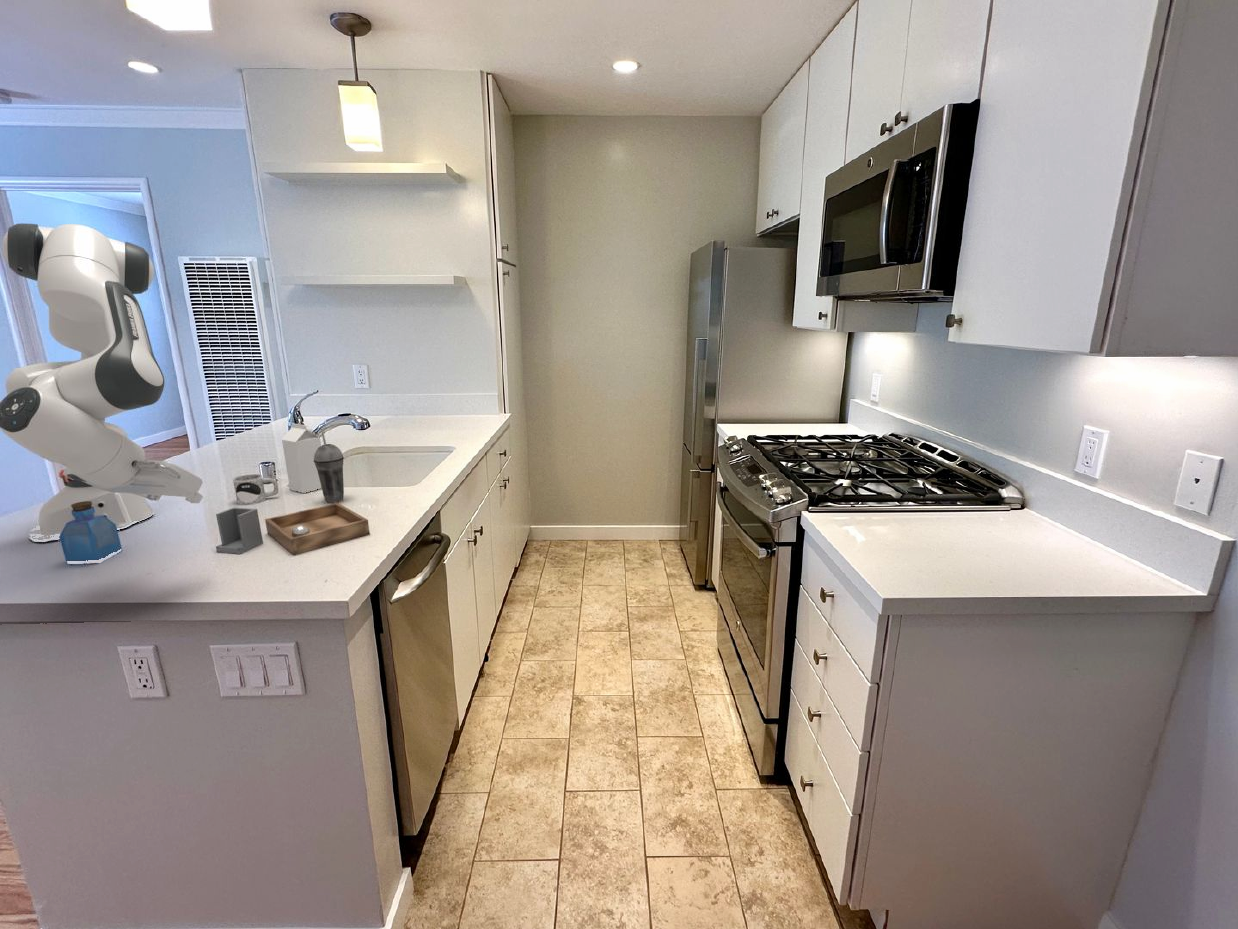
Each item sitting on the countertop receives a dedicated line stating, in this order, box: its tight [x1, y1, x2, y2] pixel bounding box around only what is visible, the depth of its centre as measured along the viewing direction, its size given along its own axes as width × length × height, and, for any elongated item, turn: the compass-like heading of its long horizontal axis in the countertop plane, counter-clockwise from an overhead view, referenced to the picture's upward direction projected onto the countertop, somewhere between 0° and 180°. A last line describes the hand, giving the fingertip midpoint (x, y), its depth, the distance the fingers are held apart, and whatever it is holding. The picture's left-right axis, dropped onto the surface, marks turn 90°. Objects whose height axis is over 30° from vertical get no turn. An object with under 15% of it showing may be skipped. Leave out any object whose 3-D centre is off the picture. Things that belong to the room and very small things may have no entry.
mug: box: [232, 473, 279, 506], centre depth 156 cm, size 10×7×7 cm
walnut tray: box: [264, 502, 371, 556], centre depth 131 cm, size 16×18×4 cm
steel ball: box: [292, 525, 310, 537], centre depth 125 cm, size 4×4×4 cm
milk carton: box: [281, 422, 322, 494], centre depth 164 cm, size 7×7×19 cm
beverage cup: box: [314, 428, 345, 504], centre depth 153 cm, size 7×7×20 cm
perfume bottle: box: [59, 501, 123, 562], centre depth 118 cm, size 6×6×12 cm
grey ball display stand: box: [215, 506, 264, 555], centre depth 123 cm, size 6×6×8 cm
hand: (177, 498), depth 109 cm, fingers open, 8 cm apart
